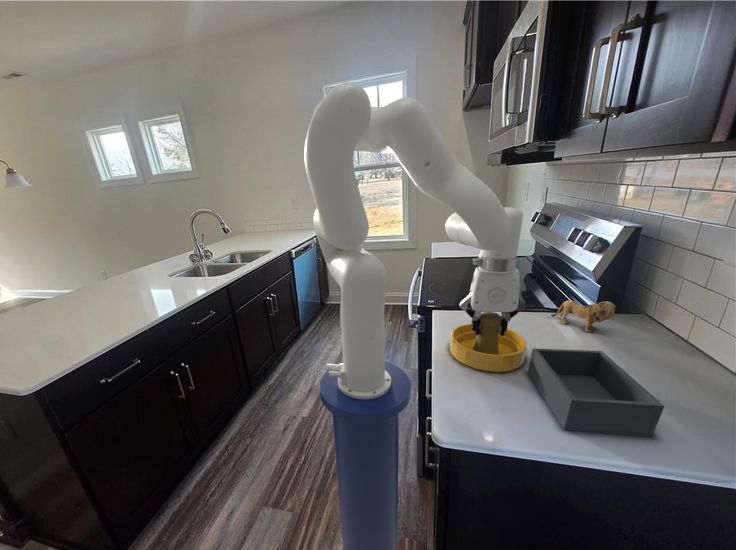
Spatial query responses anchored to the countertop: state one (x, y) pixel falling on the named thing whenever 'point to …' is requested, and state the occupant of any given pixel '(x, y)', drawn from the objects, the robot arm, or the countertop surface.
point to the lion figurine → (587, 312)
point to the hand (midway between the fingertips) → (488, 332)
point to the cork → (488, 333)
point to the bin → (593, 393)
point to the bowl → (507, 360)
